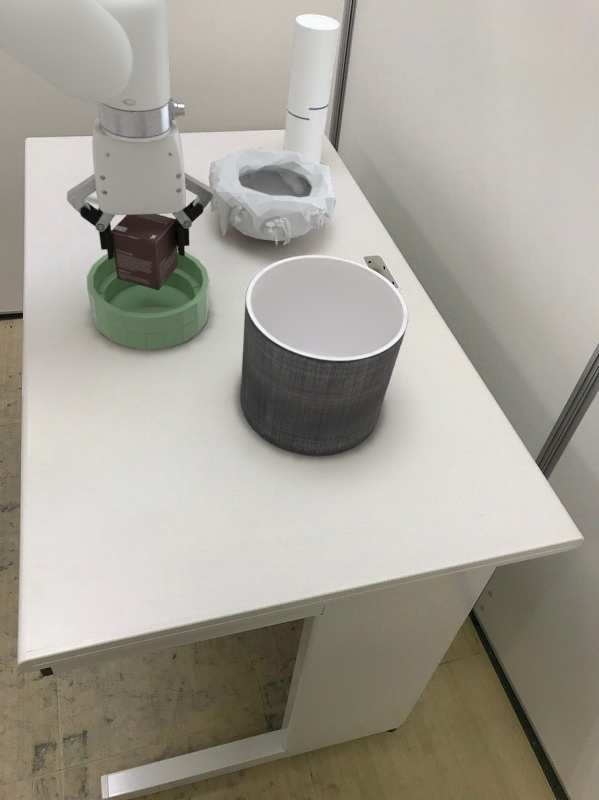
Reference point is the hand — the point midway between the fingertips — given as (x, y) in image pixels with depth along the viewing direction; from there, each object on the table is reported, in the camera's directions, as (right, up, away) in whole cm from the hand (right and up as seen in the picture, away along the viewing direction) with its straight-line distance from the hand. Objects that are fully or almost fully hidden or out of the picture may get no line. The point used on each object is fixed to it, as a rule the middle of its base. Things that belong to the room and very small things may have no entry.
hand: (146, 250), depth 81 cm
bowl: (+14, +10, +26) cm, 31 cm away
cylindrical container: (+20, +25, +40) cm, 51 cm away
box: (0, -2, +3) cm, 4 cm away
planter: (+21, -19, 0) cm, 28 cm away
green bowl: (-1, -7, +8) cm, 10 cm away
